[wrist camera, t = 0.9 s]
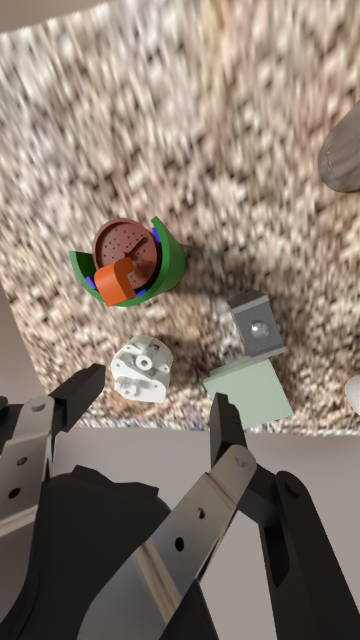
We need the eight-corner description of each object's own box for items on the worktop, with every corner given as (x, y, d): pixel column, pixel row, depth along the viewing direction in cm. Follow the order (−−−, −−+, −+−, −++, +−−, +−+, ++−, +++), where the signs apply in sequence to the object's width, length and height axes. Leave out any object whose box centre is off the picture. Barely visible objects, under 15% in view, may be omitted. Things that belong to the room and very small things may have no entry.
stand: (259, 346, 34) (269, 358, 29) (281, 395, 36) (294, 414, 31) (202, 368, 37) (203, 383, 32) (226, 413, 39) (230, 433, 34)
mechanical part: (115, 365, 39) (80, 403, 28) (138, 320, 35) (108, 343, 24) (160, 389, 39) (143, 438, 28) (186, 348, 36) (179, 383, 24)
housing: (252, 289, 31) (267, 295, 24) (268, 333, 33) (287, 351, 26) (225, 300, 32) (232, 309, 25) (242, 342, 34) (253, 362, 27)
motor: (169, 226, 30) (113, 150, 11) (196, 272, 32) (187, 276, 12) (124, 259, 33) (13, 244, 13) (151, 301, 34) (85, 340, 15)
